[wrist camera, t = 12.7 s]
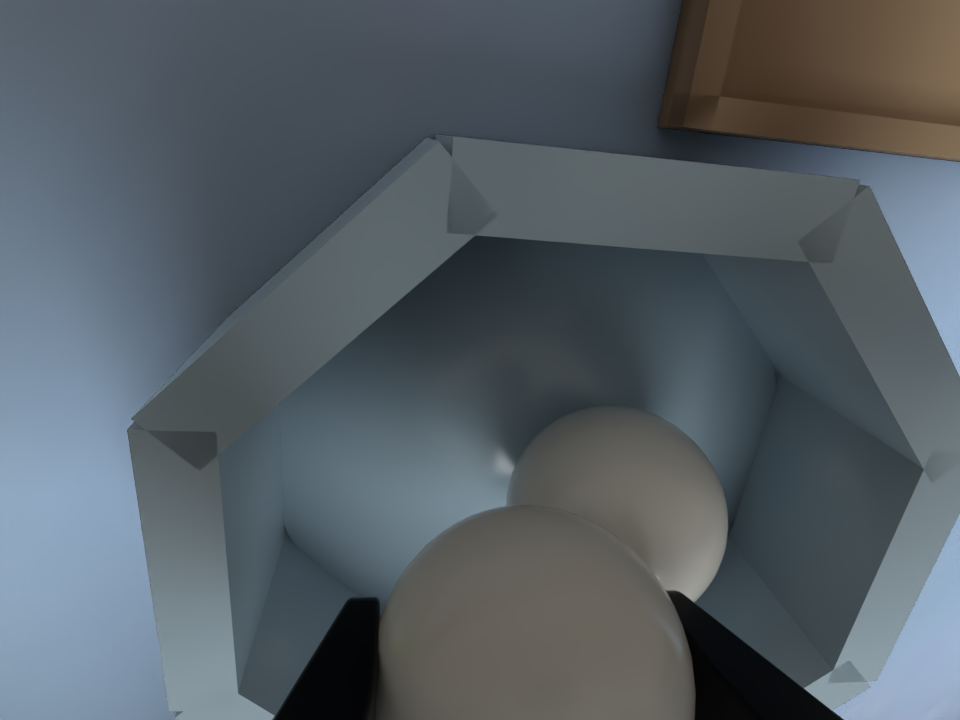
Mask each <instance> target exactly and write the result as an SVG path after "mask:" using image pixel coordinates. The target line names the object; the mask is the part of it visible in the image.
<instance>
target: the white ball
mask: <svg viewBox="0 0 960 720" xmlns="http://www.w3.org/2000/svg"><path fill="white" fill-rule="evenodd" d="M510 505H539V506H547V507H552V508H557V509H562V510H566V511H569V512H572V513H575V514H578V515H581V516H583V517H585V518H587V519H589V520H591V521H593V522H595V523H597V524H599V525H601V526H603V527H604V528H606V529H607V530H609V531H610V532H612V533H613V534H615V535H616V536H618V537H619V538H620V539H621V540H623V541H624V542H625V543H626V544H627V545H629V546H630V547H631V548H632V549H633V550H634V551H635V552H636V553H637V554H638V555H639V556H640V557H641V558H642V559H643V560H644V562H645V563H646V564H647V565H648V566H649V567H650V569H651V570H652V571H653V572H654V574H655V575H656V576H657V578H658V579H659V581H660V582H661V584H662V585H663V587H664V589H665V590H676V591H679V592H681V593H683V594H684V595H685V596H687V597H688V598H689V599H691V600H692V601H693V602H695V601H696V600H697V599H698V598H699V597H700V596H701V595H702V594H703V593H704V591H705V590H706V589H707V588H708V586H709V585H710V583H711V582H712V581H713V579H714V577H715V575H716V573H717V571H718V569H719V566H720V564H721V561H722V559H723V556H724V552H725V548H726V543H727V535H728V513H727V504H726V500H725V496H724V492H723V489H722V485H721V483H720V480H719V478H718V476H717V473H716V472H715V470H714V468H713V466H712V464H711V463H710V461H709V459H708V458H707V456H706V455H705V454H704V452H703V451H702V450H701V449H700V447H699V446H698V445H697V444H696V443H695V442H694V441H693V440H692V439H691V438H690V437H689V436H688V435H687V434H686V433H684V432H683V431H682V430H681V429H679V428H678V427H677V426H676V425H674V424H672V423H670V422H669V421H667V420H665V419H663V418H661V417H660V416H658V415H656V414H653V413H650V412H648V411H645V410H641V409H638V408H633V407H629V406H620V405H599V406H592V407H586V408H583V409H579V410H576V411H573V412H571V413H568V414H566V415H564V416H562V417H560V418H558V419H556V420H555V421H553V422H552V423H550V424H549V425H547V426H546V427H545V428H543V429H542V430H541V431H540V432H539V433H538V434H537V435H536V436H535V437H534V438H533V439H532V440H531V441H530V442H529V444H528V445H527V446H526V448H525V449H524V451H523V452H522V454H521V455H520V457H519V459H518V461H517V463H516V465H515V467H514V470H513V472H512V475H511V478H510V482H509V486H508V491H507V496H506V506H510Z"/></svg>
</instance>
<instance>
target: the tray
mask: <svg viewBox="0 0 960 720" xmlns="http://www.w3.org/2000/svg"><path fill="white" fill-rule="evenodd" d="M658 127H659V128H667V129H676V130H685V131H694V132H702V133H711V134H720V135H729V136H737V137H746V138H755V139H764V140H772V141H781V142H790V143H799V144H807V145H816V146H825V147H834V148H842V149H851V150H860V151H869V152H877V153H886V154H895V155H904V156H912V157H921V158H930V159H938V160H947V161H956V162H960V0H683V1H682V6H681V11H680V16H679V21H678V26H677V31H676V36H675V41H674V46H673V51H672V56H671V61H670V66H669V71H668V76H667V81H666V87H665V92H664V97H663V102H662V107H661V112H660V117H659V122H658Z"/></svg>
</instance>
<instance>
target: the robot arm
mask: <svg viewBox="0 0 960 720" xmlns="http://www.w3.org/2000/svg"><path fill="white" fill-rule="evenodd" d="M666 592H667V593H668V595H669V597H670V599H671V601H672V603H673V605H674V606H675V609H676V611H677V613H678V616H679V618H680V620H681V623H682V625H683V628H684V632H685V635H686V638H687V641H688V645H689V649H690V653H691V657H692V664H693V672H694V681H695V690H696V700H695V720H844V719H842V718H841V717H840V716H838V715H837V714H836V713H835V712H833V711H832V710H831V709H830V708H828V707H827V706H826V705H824V704H823V703H822V702H821V701H819V700H818V699H817V698H815V697H814V696H813V695H812V694H810V693H809V692H808V691H807V690H805V689H804V688H803V687H801V686H800V685H799V684H798V683H796V682H795V681H794V680H793V679H791V678H790V677H789V676H787V675H786V674H785V673H784V672H782V671H781V670H780V669H779V668H777V667H776V666H775V665H773V664H772V663H771V662H770V661H768V660H767V659H766V658H764V657H763V656H762V655H761V654H759V653H758V652H757V651H756V650H754V649H753V648H752V647H750V646H749V645H748V644H747V643H745V642H744V641H743V640H742V639H740V638H739V637H738V636H736V635H735V634H734V633H733V632H731V631H730V630H729V629H728V628H726V627H725V626H724V625H722V624H721V623H720V622H719V621H717V620H716V619H715V618H714V617H712V616H711V615H710V614H708V613H707V612H706V611H705V610H703V609H702V608H701V607H699V606H698V605H697V604H696V603H694V602H693V601H692V600H691V599H689V598H688V597H687V596H685V595H684V594H683V593H681V592H679V591H676V590H666ZM380 609H381V600H380V598H379V597H377V596H358V597H351V598H349V599H348V600H347V601H346V602H345V604H344V605H343V607H342V608H341V610H340V612H339V613H338V615H337V617H336V618H335V620H334V621H333V623H332V625H331V626H330V628H329V629H328V631H327V633H326V634H325V636H324V637H323V639H322V641H321V642H320V644H319V645H318V647H317V649H316V650H315V652H314V653H313V655H312V657H311V658H310V660H309V661H308V663H307V665H306V666H305V668H304V669H303V671H302V673H301V674H300V676H299V677H298V679H297V681H296V682H295V684H294V685H293V687H292V689H291V690H290V692H289V693H288V695H287V697H286V698H285V700H284V701H283V703H282V705H281V706H280V708H279V710H278V711H277V713H276V714H275V716H274V718H273V719H272V720H375V708H376V690H377V670H378V632H379V622H380Z"/></svg>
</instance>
